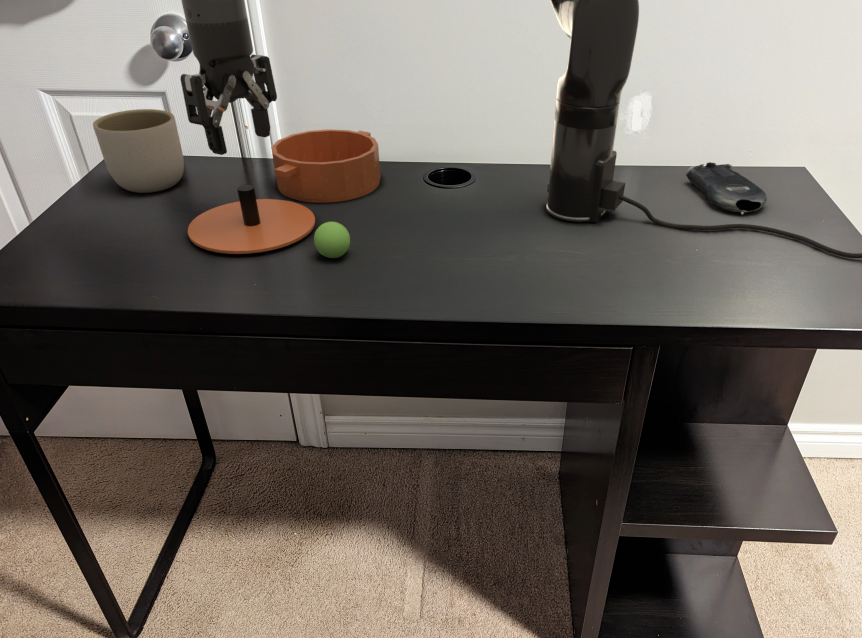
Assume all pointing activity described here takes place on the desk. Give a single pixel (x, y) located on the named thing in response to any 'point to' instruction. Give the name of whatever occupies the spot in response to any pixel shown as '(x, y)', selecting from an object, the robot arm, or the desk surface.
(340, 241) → the ball
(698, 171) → the electronic device
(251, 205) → the lid
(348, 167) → the pan
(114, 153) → the planter
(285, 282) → the desk surface
